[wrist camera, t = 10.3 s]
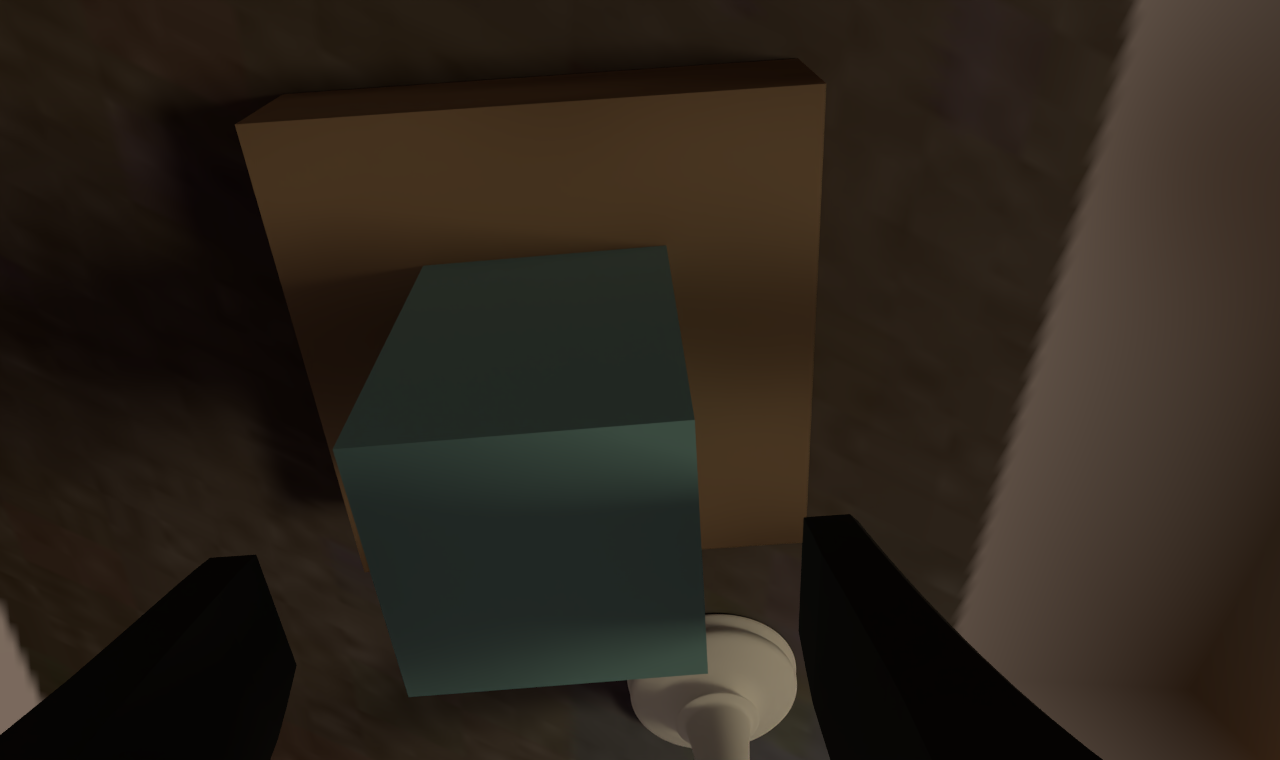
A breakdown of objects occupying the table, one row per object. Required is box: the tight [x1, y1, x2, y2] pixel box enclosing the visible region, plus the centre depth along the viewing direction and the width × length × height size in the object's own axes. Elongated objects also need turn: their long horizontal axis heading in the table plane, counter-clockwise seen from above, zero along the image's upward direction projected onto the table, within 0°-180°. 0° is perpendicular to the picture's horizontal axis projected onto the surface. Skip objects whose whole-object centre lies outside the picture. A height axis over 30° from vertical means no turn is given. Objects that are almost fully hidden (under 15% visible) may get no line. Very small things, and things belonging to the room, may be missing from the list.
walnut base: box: [235, 58, 826, 572], centre depth 18 cm, size 10×10×2 cm
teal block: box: [333, 246, 708, 697], centre depth 14 cm, size 4×4×6 cm
